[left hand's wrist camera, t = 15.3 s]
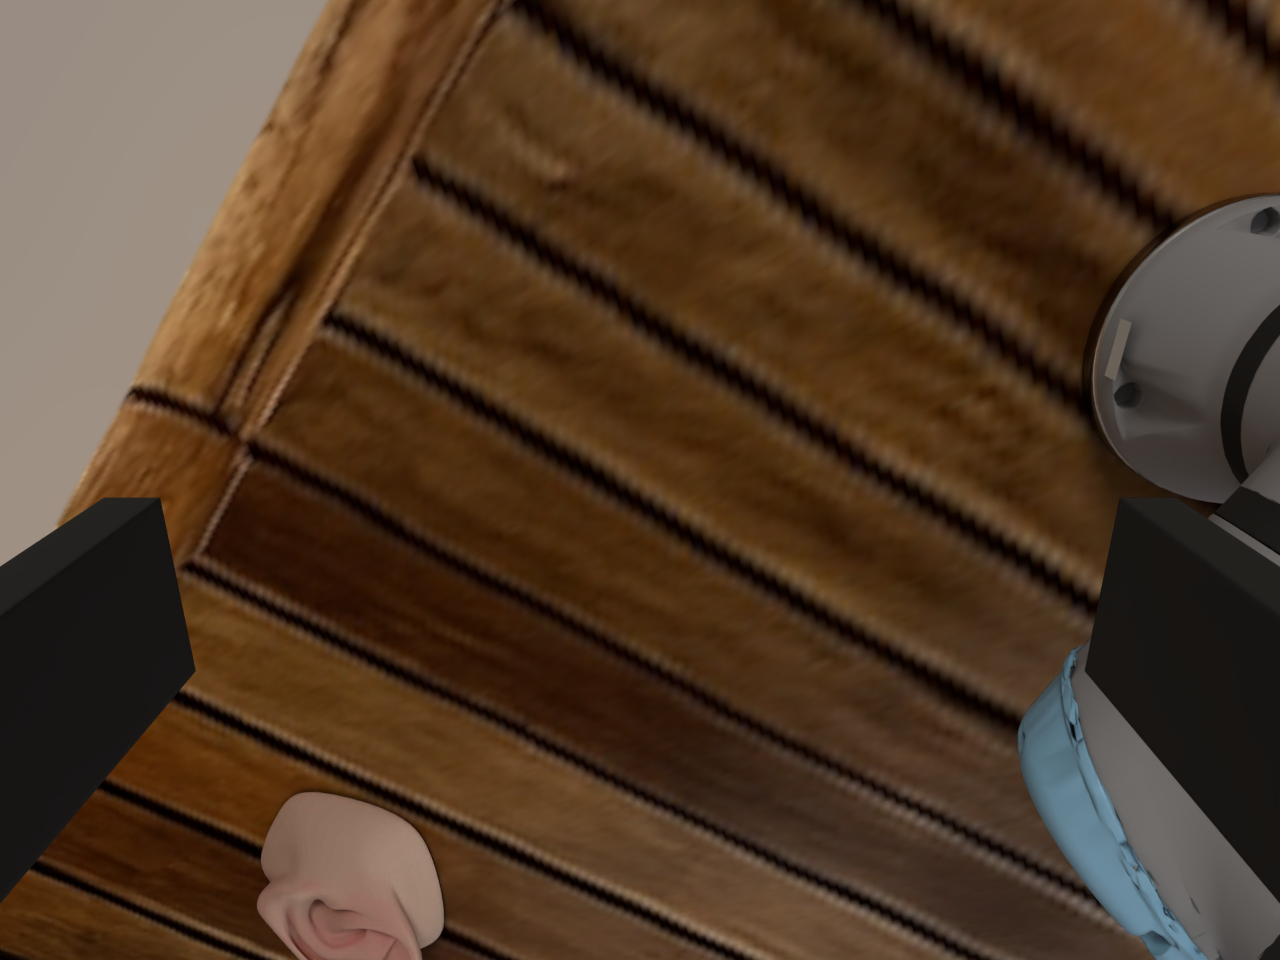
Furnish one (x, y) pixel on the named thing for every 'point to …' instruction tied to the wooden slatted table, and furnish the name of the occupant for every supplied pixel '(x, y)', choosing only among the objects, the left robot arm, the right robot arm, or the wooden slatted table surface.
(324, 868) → the anatomical model
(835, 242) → the wooden slatted table surface
